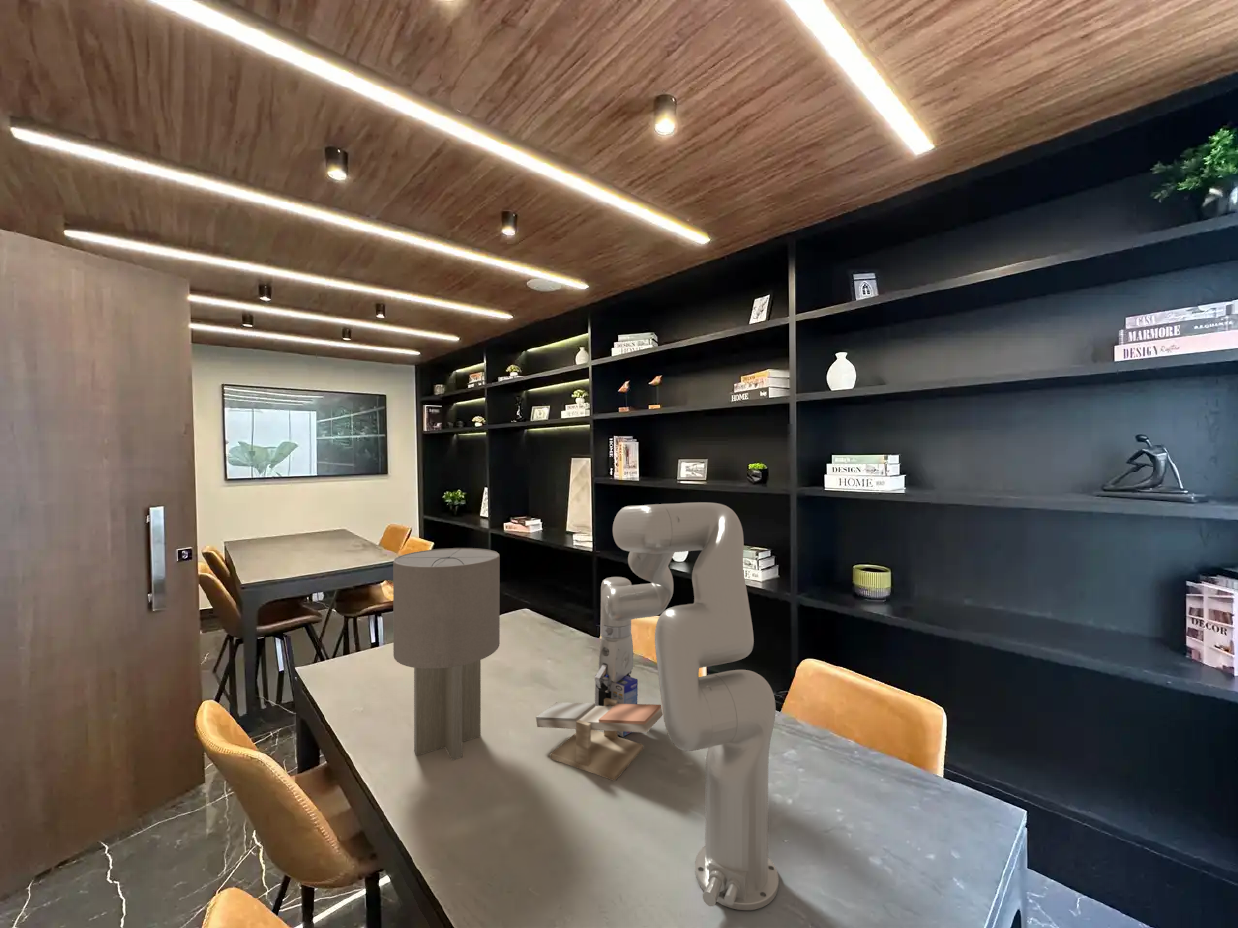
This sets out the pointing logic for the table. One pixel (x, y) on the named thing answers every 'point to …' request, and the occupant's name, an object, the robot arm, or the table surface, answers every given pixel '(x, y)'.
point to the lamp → (446, 639)
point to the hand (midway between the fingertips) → (614, 697)
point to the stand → (597, 750)
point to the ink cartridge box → (622, 693)
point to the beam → (601, 716)
